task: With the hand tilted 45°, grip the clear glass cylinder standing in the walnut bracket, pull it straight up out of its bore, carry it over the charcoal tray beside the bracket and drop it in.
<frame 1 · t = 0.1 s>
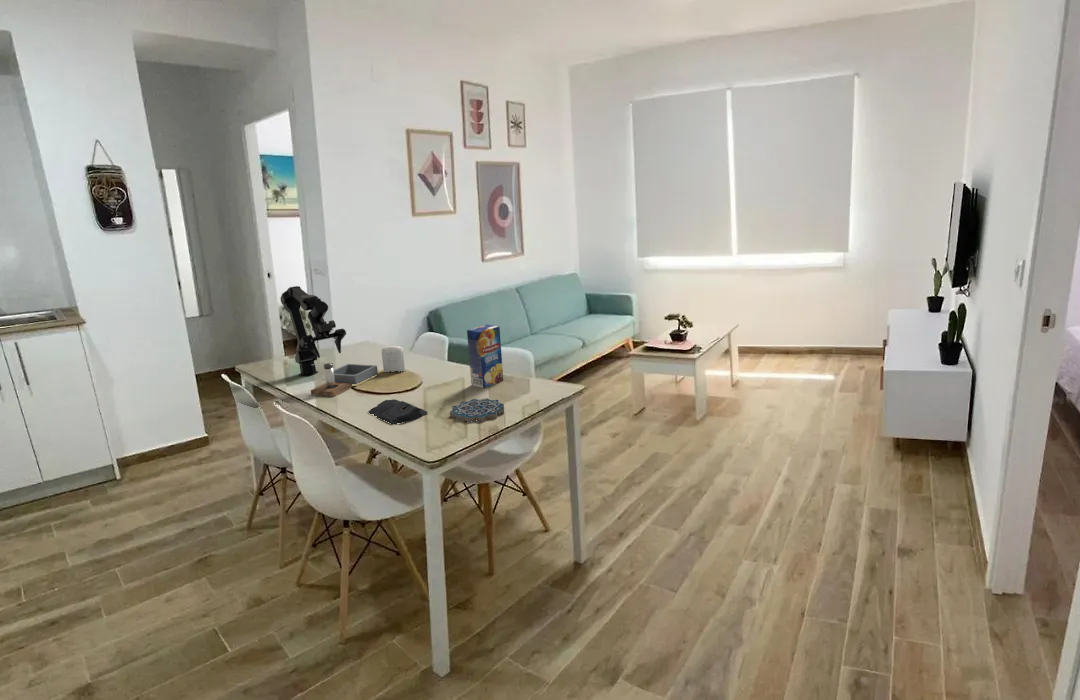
hand: (329, 355, 264), 15 cm above the table, tool tilted 35°, fingers open, 9 cm apart
tray: (352, 379, 277), on the table
juice carton: (487, 383, 263), on the table
dark slate chunk: (397, 415, 233), on the table
pin bracket: (332, 391, 263), on the table
clear glass cylinder: (330, 377, 262), in the pin bracket
decorative tile: (478, 413, 229), on the table
photo printer: (394, 371, 287), on the table
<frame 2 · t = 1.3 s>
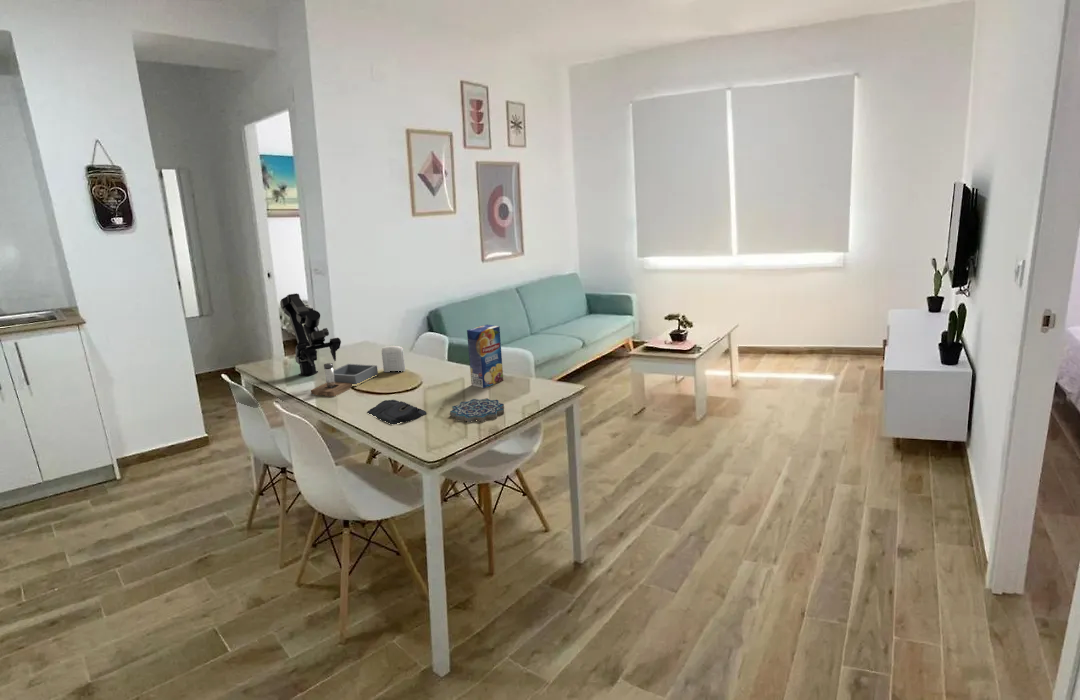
hand: (324, 362, 264), 12 cm above the table, tool tilted 45°, fingers open, 9 cm apart
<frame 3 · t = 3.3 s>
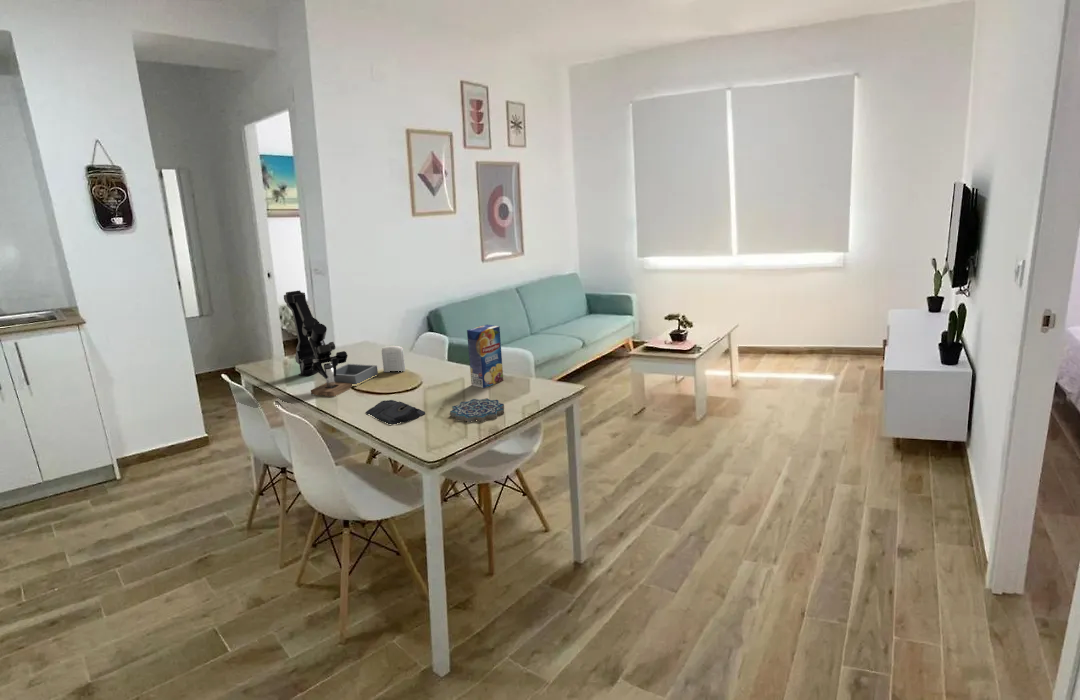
hand: (331, 377, 260), 7 cm above the table, tool tilted 45°, fingers closed on clear glass cylinder, 4 cm apart
clear glass cylinder: (330, 377, 262), in the pin bracket, touching gripper
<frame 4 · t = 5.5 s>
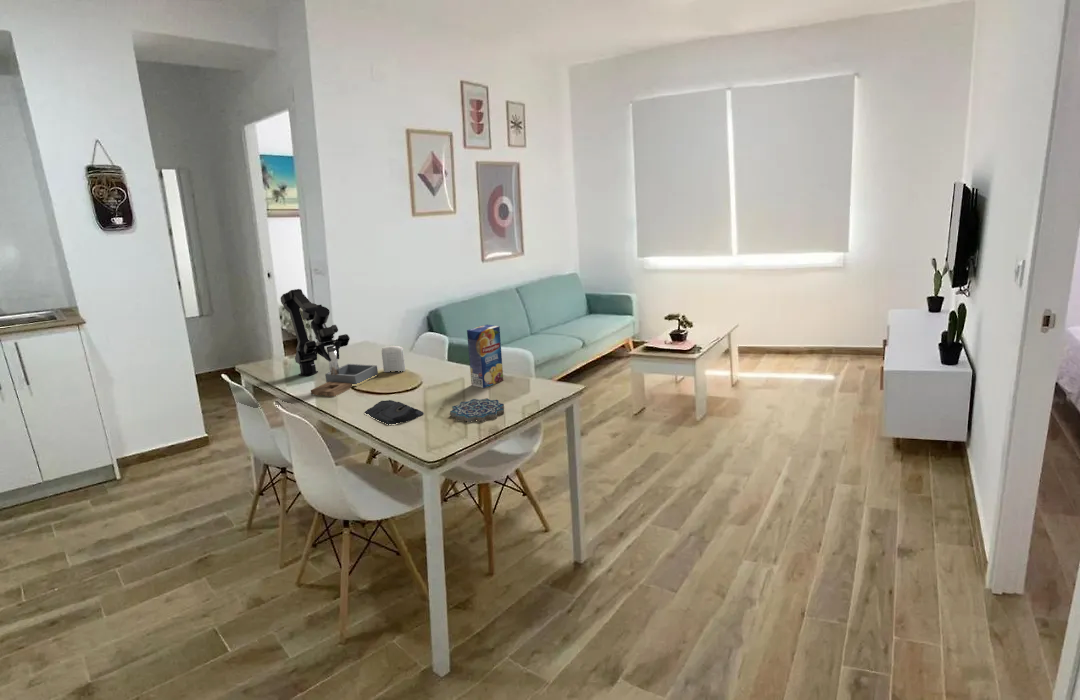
hand: (334, 359, 261), 13 cm above the table, tool tilted 45°, fingers closed on clear glass cylinder, 4 cm apart
clear glass cylinder: (333, 360, 262), point 13 cm above the table, touching gripper
when the fingers open (10 cm above the table, at t = 7.8 s): clear glass cylinder drops 2 cm, resting on tray.
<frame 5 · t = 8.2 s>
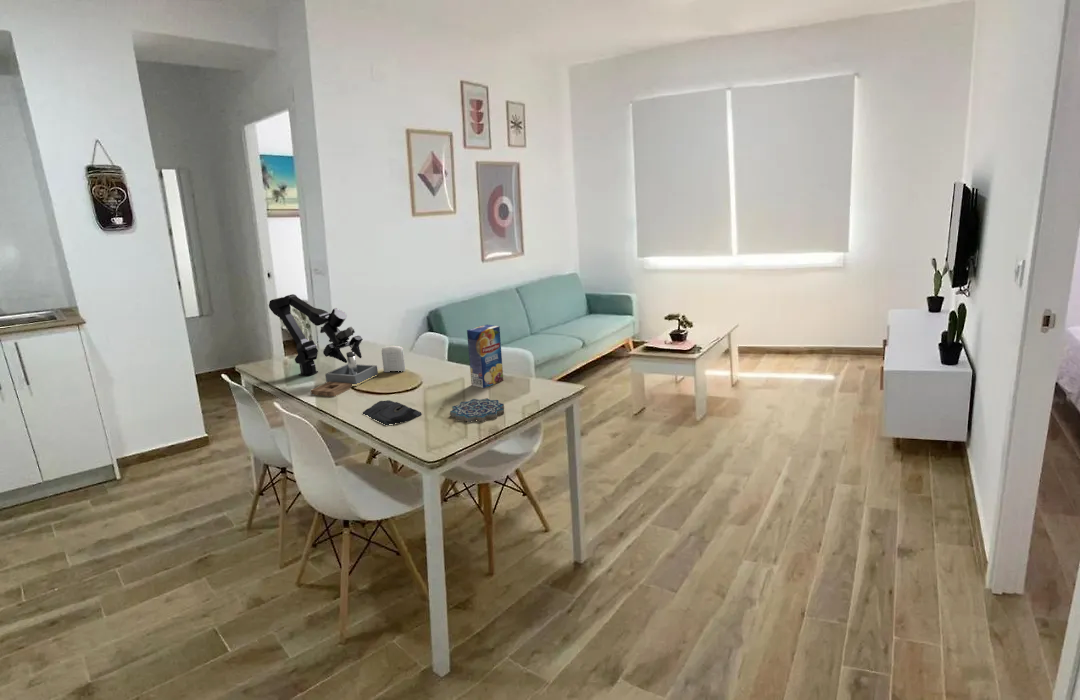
hand: (354, 359, 274), 10 cm above the table, tool tilted 45°, fingers open, 8 cm apart
clear glass cylinder: (352, 365, 275), in the tray, point 7 cm above the table
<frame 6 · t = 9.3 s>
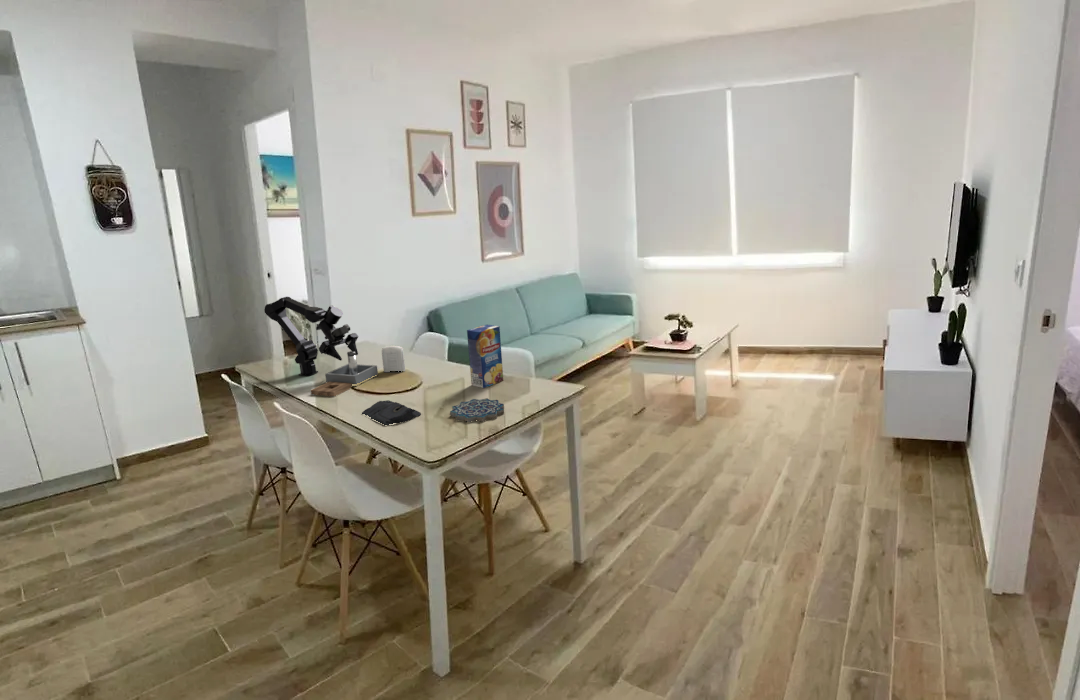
hand: (349, 357, 275), 11 cm above the table, tool tilted 45°, fingers open, 9 cm apart
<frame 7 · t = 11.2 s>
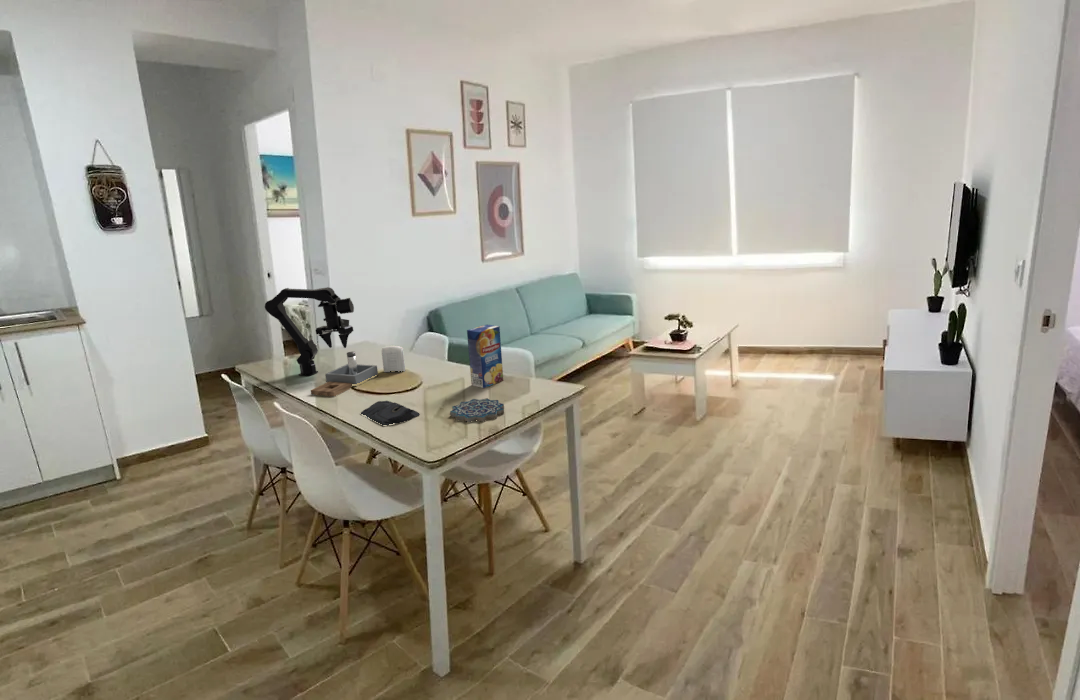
hand: (338, 347, 287), 12 cm above the table, tool pointing down, fingers open, 9 cm apart
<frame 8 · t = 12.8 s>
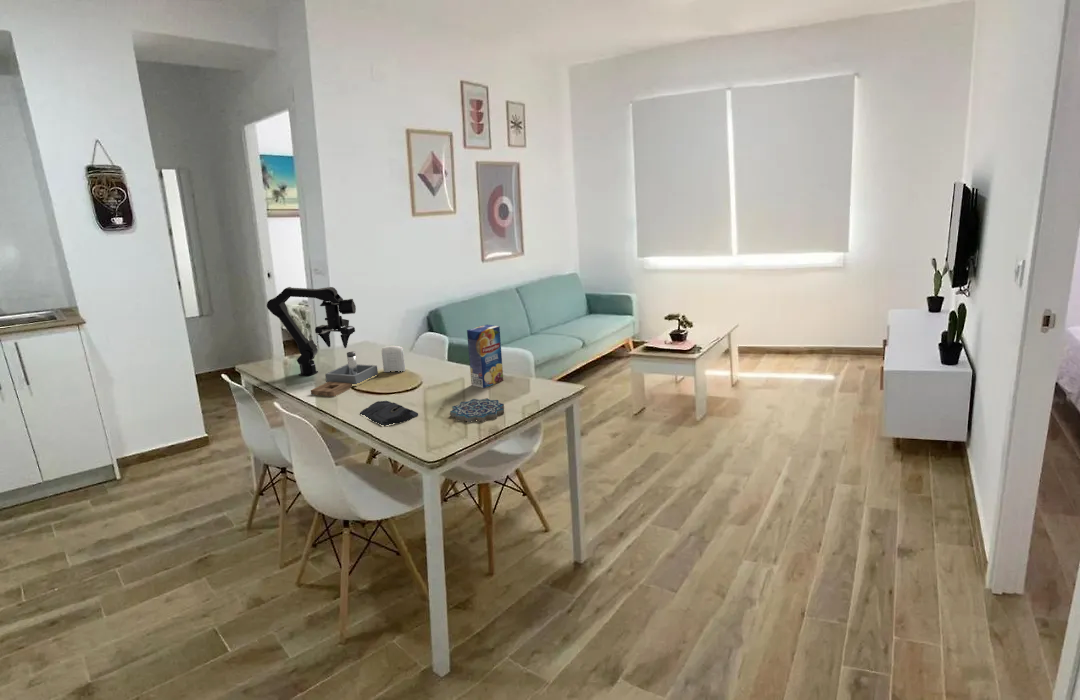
hand: (337, 347, 288), 12 cm above the table, tool pointing down, fingers open, 9 cm apart
at the end: clear glass cylinder inside the target area on the tray (1.0 cm from its centre), point 6.8 cm above the tray's base; the gripper is holding nothing; clear glass cylinder moved 15.5 cm from its start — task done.
